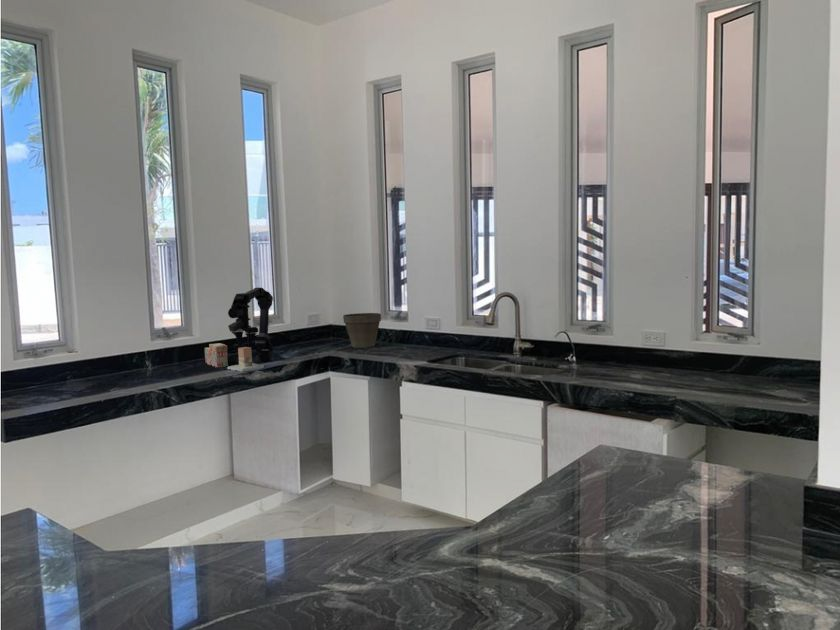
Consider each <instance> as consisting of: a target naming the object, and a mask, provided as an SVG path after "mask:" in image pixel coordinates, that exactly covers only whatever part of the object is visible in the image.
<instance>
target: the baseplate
mask: <svg viewBox="0 0 840 630" xmlns="http://www.w3.org/2000/svg"><path fill="white" fill-rule="evenodd" d="M226 368H227V370H229V369H231V370H230V371H235V370H237V371H236V372H242V373H243V372H247V371H254V370H259V369H264V368H265V365H264V364H257V363H253V362H252V366H247V367H242V366H239V364H234V365H230V366H229V365H228V367H226Z"/></svg>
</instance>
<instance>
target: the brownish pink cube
mask: <svg viewBox="0 0 840 630" xmlns="http://www.w3.org/2000/svg"><path fill="white" fill-rule="evenodd" d="M237 354H238V358H239V357H242V358H246V357H252V358H253V355H252V354H253V353H252V347H250V346H243V347H238V349H237Z"/></svg>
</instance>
